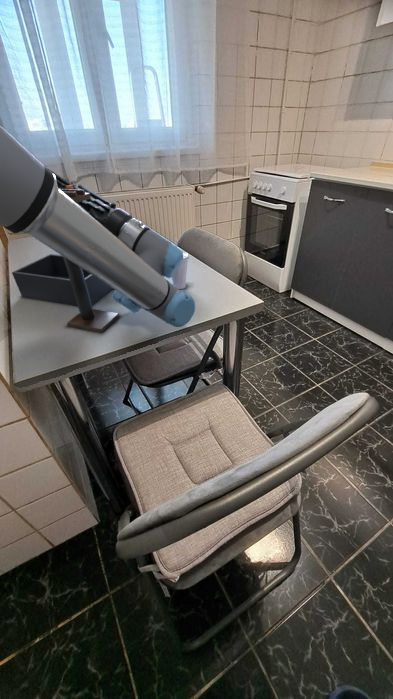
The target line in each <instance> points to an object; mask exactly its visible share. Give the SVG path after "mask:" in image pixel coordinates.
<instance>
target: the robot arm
mask: <svg viewBox="0 0 393 699" xmlns="http://www.w3.org/2000/svg"><path fill="white" fill-rule="evenodd" d="M66 185H71V186H73V188H74V189H78V190H84V191H85V193H90V196H91V199H88V200H85V201H82V202H78V203H75V202H74V201H73V200H72V199H71V198H69V197H68V196H67V195H66V194H65V193H63V192H62V191H61V190H60V189H67V188H66ZM0 226H1V227H2V228H4V229H5V230H8V231H9V232H11V233H12V234H14V235H17V236H19V235H25V234H26V235H27V234H28V235H29V236H31V237H33V238H34V239H35V240H37V241H38V242H40V243H42V244H43V245H45V246H46V247H48V248H50V249H51V250H52V251H54V252H56V254H58V255H62V256H64V257H65V258H67V259H68V260H70V261H71V262H73V263H75V264H76V265H78V266H79V267H81V268H82V269H84V270H86V271H87V272H89V273H90V274H92V275H93V276H95V277H96V278H98V279H100V280H101V281H103V282H104V283H106V284H107V285H109V286H111V287H112V288H113V290H114V291H113V293H112V299H113V300H115V301H116V302H117V303H118V304H119V305H121V306H122V307H124V308H126V309H127V310H129V311H130V312H132V313H134V314H135V313H138V312H139V311H140V310H141V309H143V310H145V311H147V312H148V313H150V314H152V315H153V316H155V317H157V318H159V319H160V320H161V321H163V322H164V323H166V324H168V325H170V326H173V327H175V328H180V327H183V326H185V325H187V324H188V323H189V322H190V321H191V319H192V317H193V316H194V315H195V311H196V302H195V299H194V298H193V297H192V296H191V295H190V294H188V292H186V291H185V290H182V289H177V288H176V287H174V286H173V283H171V282H170V281H169V280H167V279H170V278H171V279H172V276H173V275H174V273H175V272H176V271H177V270H178V268H179V266H180V264H181V263H182V260H183V252H184V251H183V250H180V248H179V247H178V246H177V247H176V246H175V244H173V243H172V242H171V241H169V240H168V239H166V238H165V237H163V236H161V235H160V234H158V233H157V232H156V231H154V230H152V229H151V228H150V227H148V226H146V225H145V224H144V223H143V221H141V220H140V221H139V220H138V219H137V218H135V217H133V216H132V215H131V214H130V213H128V212H127V211H125V210H124V209H123V208H120V207H118V208H117V203H116V202H113V201H111V200H109V199H107V198H105V197H103V196H101V195H100V194H98V193H96V192H94V191H93V190H91V189H89V188H88V187H86V186H84V185H83V184H78V185H76V184H73V183H70V182H68V181H67V180H65V179H64V178H63V177H61V176H60V175H58V174H57V173H55V172H54V171H53V170H51V169H50V168H48V167H46V166H45V165H44V164H43V163H41V161H39V159H38V158H36V157H35V156H34V154H32V153H31V152H30V151H29V150H28V149H27V148H26V147H24V145H23V144H21V143H20V142H19V141H18V140H17V139H16V138H15V137H14V136H13V135H12V134H10V133H9V131H7V130H6V129H5V128H4V127H3V126H1V125H0ZM166 278H167V279H166Z"/></svg>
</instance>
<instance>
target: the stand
mask: <svg viewBox="0 0 393 699" xmlns="http://www.w3.org/2000/svg"><path fill="white" fill-rule="evenodd" d="M60 190H61V191H62V192H63V193H65V194H66V195H67V196H68V197H69V198H71V199H72V200H73V201H74V202H75V203H78V202H82V201H85V200H88V199H91V196H90V193H85V191H84V190H78V189H60ZM63 258H64V261H65V265H66V268H67V271H68V275H69V278H70V281H71V284H72V288H73V291H74V294H75V298H76V301H77V304H78V306H77V307H78V310H79V313H78V314H77V315H75V316H74V317H72V318H71V319H70V320H69V321H68V322H66V325H67V327H70V328H75V329H80V330H84V331H85V330H86V331H90V332H91V331H92V332H95V333H104V331H105V330H107V329H108V328H109V327H110V326H111V325H113V323H115V321H117V319H119V317H120V313H119V312H113V311H108V310H101V309H95V308H93V305H92V304H91V300H90V296H89V293H88V289H87V285H86V282H85V278H84V274H83V270H82V268H81V267H79V266H78V265H76V264H75V263H73V262H71V261H70V260H68V259H67V258H65V257H64V256H63Z"/></svg>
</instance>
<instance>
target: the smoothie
mask: <svg viewBox="0 0 393 699" xmlns="http://www.w3.org/2000/svg"><path fill="white" fill-rule="evenodd" d="M174 246H176V247H177V248H178V239H177V238H175V239H174ZM182 252H183V260H182V263H181V264H180V266H179V268H178V270H177V271H176V272H175V273H174V275H173V276H172V277H171V281H172V285H173V286H174V287H176V288H177V289H179V290H183V289H185V288H186V286H187V275H188V263H189V262H188V261H189V259H190V256H189V253H188V252H184V251H182Z"/></svg>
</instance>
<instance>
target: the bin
mask: <svg viewBox="0 0 393 699" xmlns="http://www.w3.org/2000/svg"><path fill="white" fill-rule="evenodd" d="M82 270H83V274H84V278H85V282H86V285H87V289H88V293H89V296H90V300H91V304H92V306H93V305H94V304H95V303H97V302H98V301H99V300H101V299H102V298H103V297H104V296H106V295H107V294H108V293H110V292H111V291H112V290H114V288H112V287H111V286H109V285H107V284H106V283H104V282H103V281H101V280H100V279H98V278H96V277H95V276H93V275H92V274H90V273H89V272H87V271H86V270H84V269H82ZM11 275H12V276H13V279H14V281H15V283H16V286H17V288H18V291H19V293H20V296H21V297H22V298H27V299H33V300H38V301H39V300H40V301H45V302H52V303H58V304H63V305H70V306H75V307H78V304H77V301H76V298H75V294H74V291H73V288H72V284H71V281H70V278H69V275H68V271H67V268H66V265H65V261H64V258H63V256H62V255H61V254H52V253H50V254H48V255H45V256H44V257H43V256H42V257H41V258H39V259H37V260H35V261H32V262H31V263H29V264H26V265H25V266H22V267H20V268H18V269H16V270H14V271H12V272H11Z"/></svg>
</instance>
